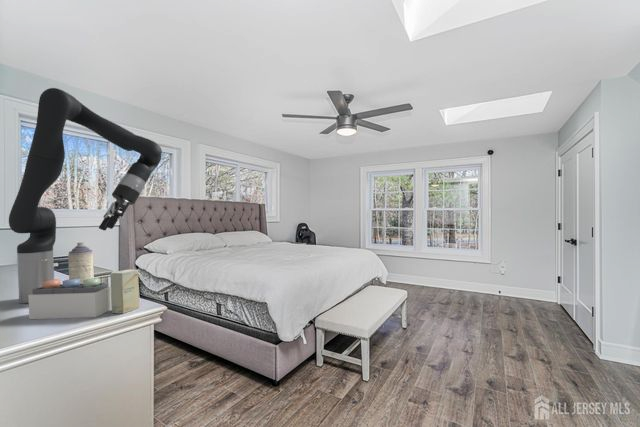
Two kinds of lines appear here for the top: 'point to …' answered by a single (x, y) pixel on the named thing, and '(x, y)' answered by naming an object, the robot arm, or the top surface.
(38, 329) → the top surface
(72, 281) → the slate blue button
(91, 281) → the sage button
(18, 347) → the top surface
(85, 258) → the aerosol can
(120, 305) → the skincare box
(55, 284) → the terracotta button
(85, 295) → the button console
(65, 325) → the top surface
